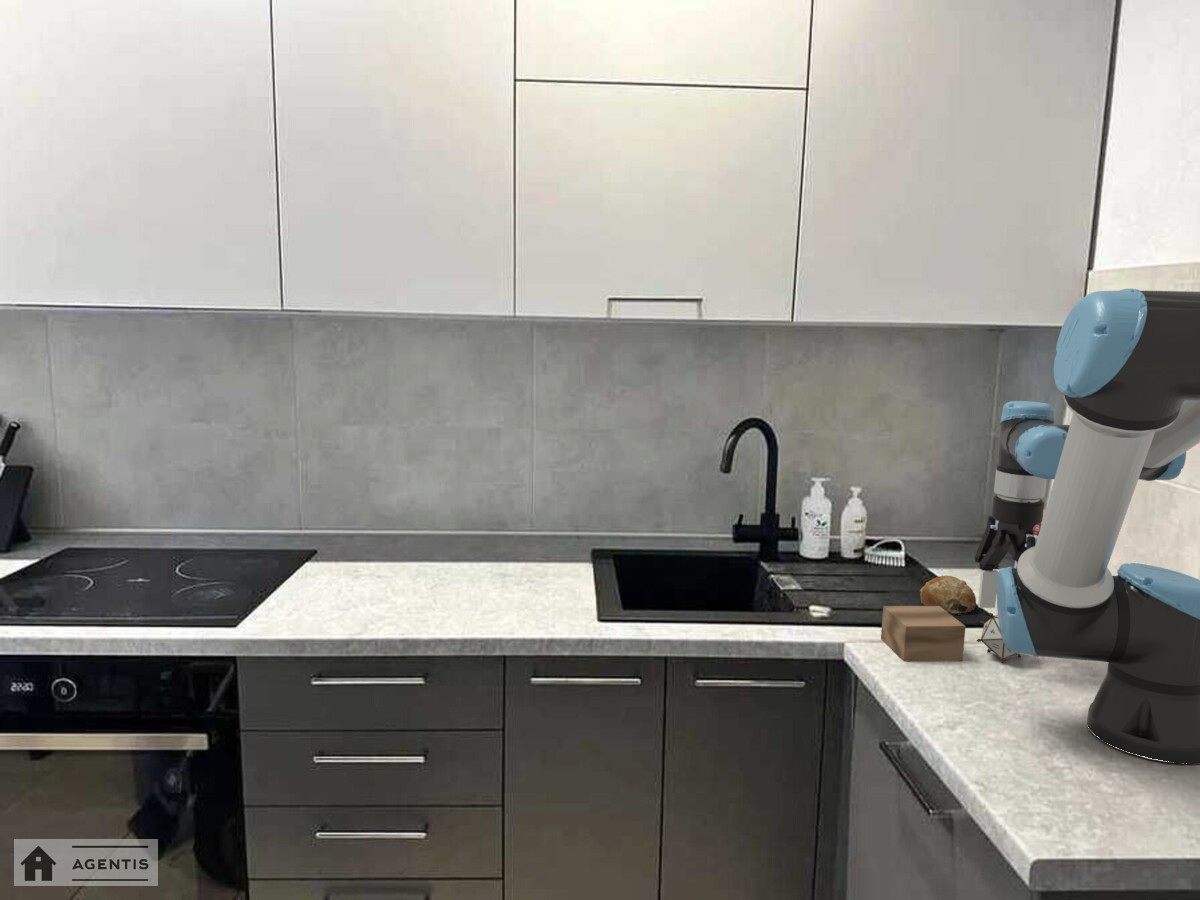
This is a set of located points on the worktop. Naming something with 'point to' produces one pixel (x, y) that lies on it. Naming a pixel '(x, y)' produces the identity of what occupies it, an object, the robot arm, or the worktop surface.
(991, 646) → the game die
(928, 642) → the walnut block
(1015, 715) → the worktop surface
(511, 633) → the worktop surface
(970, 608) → the bread roll
